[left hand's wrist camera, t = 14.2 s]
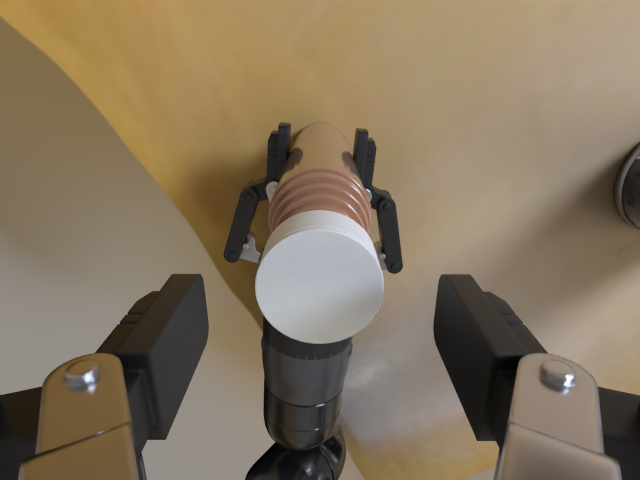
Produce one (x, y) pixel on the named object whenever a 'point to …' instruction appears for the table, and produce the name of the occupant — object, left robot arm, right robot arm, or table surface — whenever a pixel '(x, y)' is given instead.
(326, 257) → the cap
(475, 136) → the table surface
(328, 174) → the bottle
